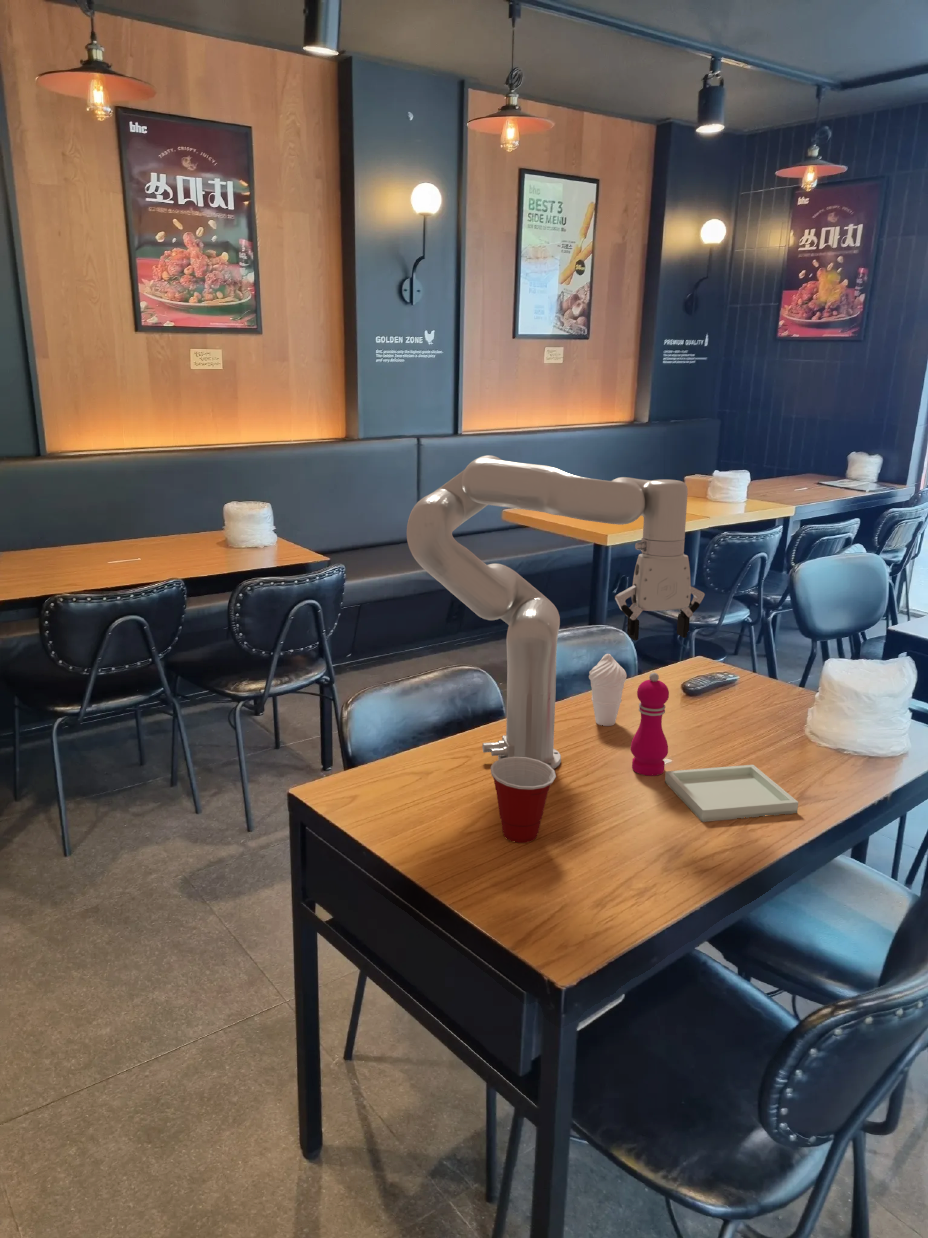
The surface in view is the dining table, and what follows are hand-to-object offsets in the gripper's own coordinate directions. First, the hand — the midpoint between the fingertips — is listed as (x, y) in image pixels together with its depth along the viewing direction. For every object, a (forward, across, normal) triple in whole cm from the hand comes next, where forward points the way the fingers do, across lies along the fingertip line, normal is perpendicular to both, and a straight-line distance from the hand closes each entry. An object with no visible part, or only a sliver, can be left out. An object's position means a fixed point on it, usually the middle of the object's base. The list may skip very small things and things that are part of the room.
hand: (657, 637), depth 165 cm
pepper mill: (+27, 0, 0) cm, 27 cm away
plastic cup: (+27, -31, -21) cm, 46 cm away
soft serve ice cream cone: (+27, 0, +25) cm, 37 cm away
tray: (+27, +10, -14) cm, 32 cm away
